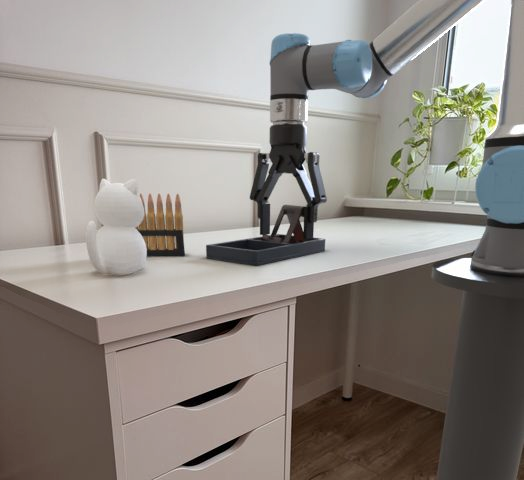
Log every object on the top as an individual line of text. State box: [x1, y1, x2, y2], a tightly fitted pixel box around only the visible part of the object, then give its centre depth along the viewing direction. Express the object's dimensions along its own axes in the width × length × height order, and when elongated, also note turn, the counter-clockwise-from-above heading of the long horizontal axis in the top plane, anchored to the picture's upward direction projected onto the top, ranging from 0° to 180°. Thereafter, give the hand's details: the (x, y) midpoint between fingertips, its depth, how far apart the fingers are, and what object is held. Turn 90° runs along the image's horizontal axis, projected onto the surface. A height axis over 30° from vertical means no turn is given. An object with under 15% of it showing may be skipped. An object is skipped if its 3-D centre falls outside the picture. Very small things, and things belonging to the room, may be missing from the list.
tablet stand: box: [261, 204, 306, 244], centre depth 110 cm, size 9×8×8 cm
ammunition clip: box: [135, 193, 186, 257], centre depth 102 cm, size 11×2×12 cm, turn 98°
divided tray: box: [205, 233, 326, 267], centre depth 107 cm, size 13×24×3 cm, turn 143°
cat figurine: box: [85, 178, 148, 276], centre depth 84 cm, size 9×12×15 cm
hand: (285, 236), depth 111 cm, fingers closed on tablet stand, 11 cm apart
